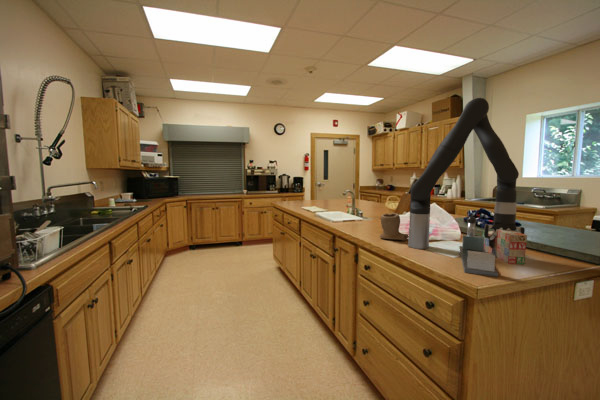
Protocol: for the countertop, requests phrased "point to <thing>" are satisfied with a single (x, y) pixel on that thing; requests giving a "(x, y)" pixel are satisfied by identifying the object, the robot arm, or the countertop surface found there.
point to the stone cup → (391, 227)
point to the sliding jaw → (472, 237)
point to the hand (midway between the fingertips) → (502, 248)
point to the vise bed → (464, 260)
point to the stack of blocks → (507, 246)
